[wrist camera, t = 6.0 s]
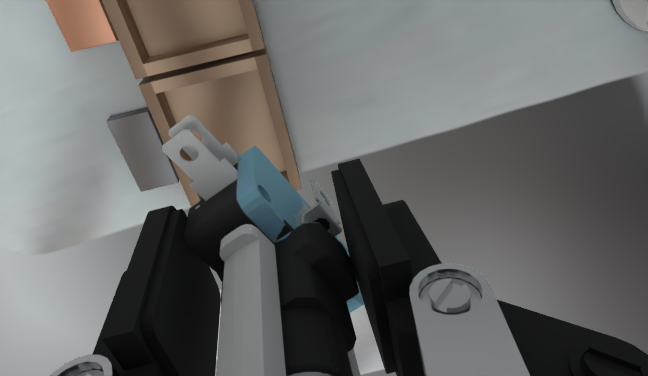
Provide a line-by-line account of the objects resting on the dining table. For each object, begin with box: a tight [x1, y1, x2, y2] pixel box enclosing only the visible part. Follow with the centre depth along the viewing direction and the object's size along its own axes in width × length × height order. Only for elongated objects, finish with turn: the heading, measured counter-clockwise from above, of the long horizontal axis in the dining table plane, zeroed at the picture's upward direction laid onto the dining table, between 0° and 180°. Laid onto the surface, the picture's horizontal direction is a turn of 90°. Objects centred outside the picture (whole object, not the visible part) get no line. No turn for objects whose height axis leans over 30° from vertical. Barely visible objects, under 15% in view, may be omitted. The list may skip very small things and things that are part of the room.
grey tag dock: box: [106, 46, 302, 207], centre depth 32 cm, size 12×11×3 cm
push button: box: [162, 115, 364, 376], centre depth 8 cm, size 7×5×10 cm
